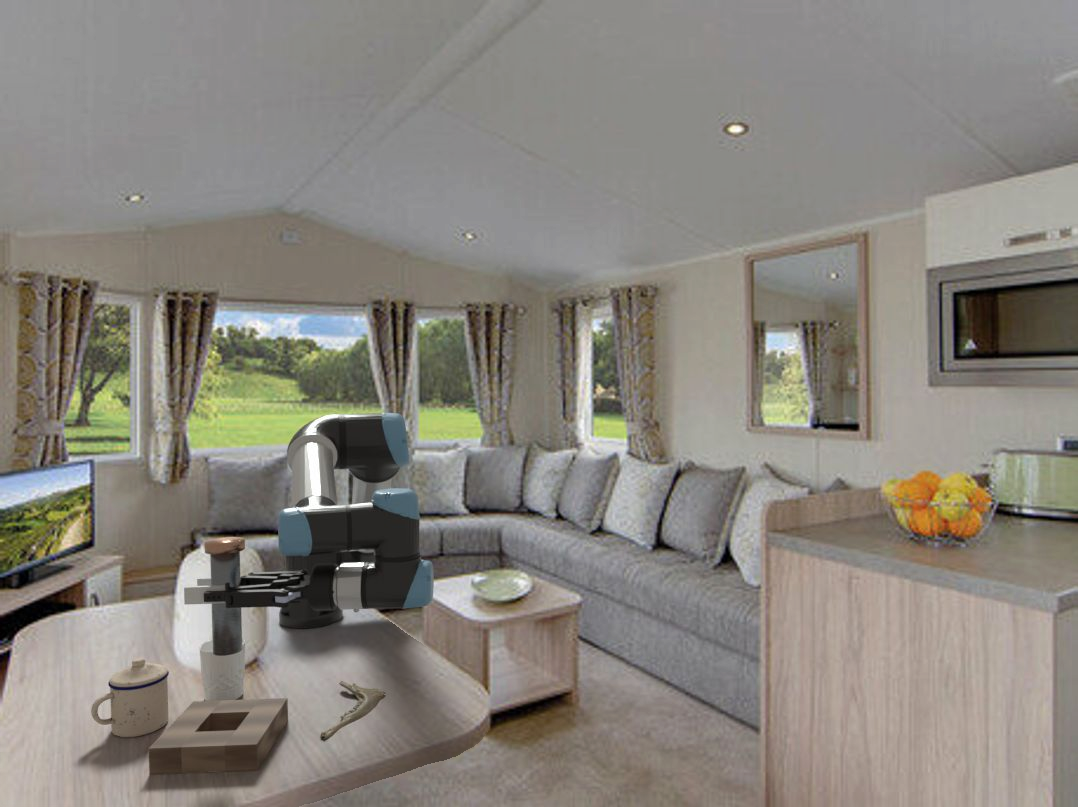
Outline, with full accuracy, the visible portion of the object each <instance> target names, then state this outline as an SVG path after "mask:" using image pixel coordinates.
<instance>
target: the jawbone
mask: <svg viewBox="0 0 1078 807" xmlns="http://www.w3.org/2000/svg"><path fill="white" fill-rule="evenodd" d="M339 685H340V686H341V687H343V688H345V689H346V690H348V691H350V692H351V693H353V695H354V696H355V697H356V699H357V700H358V701H357V702H356V704H355V705H354V707H352V708H351V709H349V711H346V712H344V714H341V715H340V717H339V718H340V719H342V720H341V721H340V722H339V723H337V724H335V725H334V726H333V727H332V726H331V728H329V729H326V730H324V731H322V732H321V733H320V739H321V740H324V741H325V740H326V739H328V738H330V737H332V736H333V735H334V734H335V733H337V731H339V730H340V729H342V728H343V727H346V726H347V725H350V724H352V723H354V722H356V721H357V720H359V719H361V718H363V717H366V715H368V714H369V713H371V712H372V711H373V710H374V709H375V708H376V707H377V705H378V704H379V702H380V701H381V700H382V699H383V698H384V697H385V696H386V691H384V690H381V689H379V688H367V687H362V686H361V687H360V686H358V685H357V684H356V683H354V682H353V683H352V685H351V684H349V683H347V682H345V681H343V680H340V681H339ZM384 694H385V695H384ZM382 697H383V698H382ZM381 698H382V699H381ZM379 700H380V701H379Z"/></svg>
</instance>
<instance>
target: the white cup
mask: <svg viewBox="0 0 1078 807" xmlns="http://www.w3.org/2000/svg"><path fill="white" fill-rule="evenodd" d="M199 658H200V659H199V660H200V670H201V682H202V687H203V697H204V701H220V700H239V698H241V697H242V696H243V695H244V689H245V688H244V687H245V686H244V685H245V684H244V682H245V681H244V679H245V669H246V668H245V667H246V639H244V638H243V637H242V650H241V651H240V652H238V653H235V654H232V655H226V656H217V655H214V654H213V639H210V640H207V641H205V642H204V643H202V644H200V646H199Z"/></svg>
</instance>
